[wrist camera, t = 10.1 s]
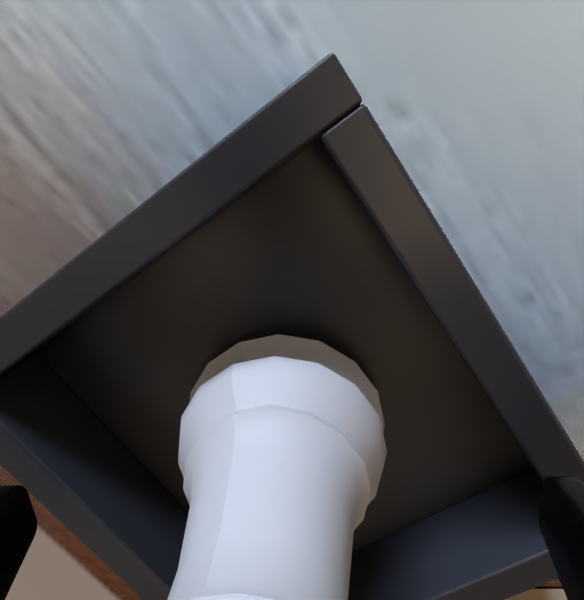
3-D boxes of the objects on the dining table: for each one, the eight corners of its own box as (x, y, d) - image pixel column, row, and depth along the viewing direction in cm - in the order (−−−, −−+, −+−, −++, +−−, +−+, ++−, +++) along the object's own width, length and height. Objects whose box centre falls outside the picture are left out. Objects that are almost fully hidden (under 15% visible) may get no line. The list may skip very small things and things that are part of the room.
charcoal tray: (562, 454, 11) (637, 548, 9) (262, 594, 13) (247, 702, 11) (329, 80, 9) (333, 50, 6) (12, 329, 11) (-87, 385, 8)
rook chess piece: (158, 368, 10) (-313, 996, 3) (335, 294, 9) (388, 914, 2) (245, 510, 11) (93, 1220, 4) (410, 456, 11) (631, 1239, 3)
